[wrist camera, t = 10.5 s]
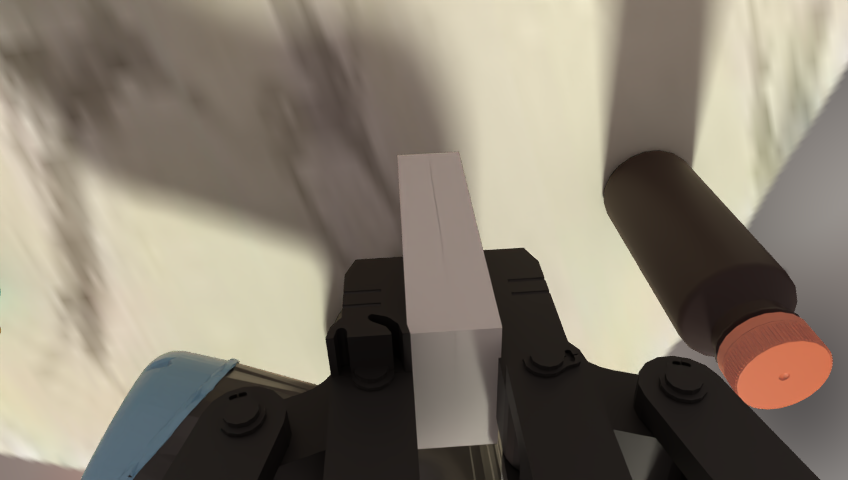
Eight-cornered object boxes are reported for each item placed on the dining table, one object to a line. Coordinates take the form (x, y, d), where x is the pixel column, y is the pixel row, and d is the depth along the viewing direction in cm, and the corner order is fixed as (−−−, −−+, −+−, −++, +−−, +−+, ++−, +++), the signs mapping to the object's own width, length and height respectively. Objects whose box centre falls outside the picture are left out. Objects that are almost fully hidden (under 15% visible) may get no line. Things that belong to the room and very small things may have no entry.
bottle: (593, 225, 51) (699, 422, 34) (613, 146, 47) (743, 322, 30) (676, 228, 51) (820, 423, 35) (702, 150, 48) (877, 326, 31)
